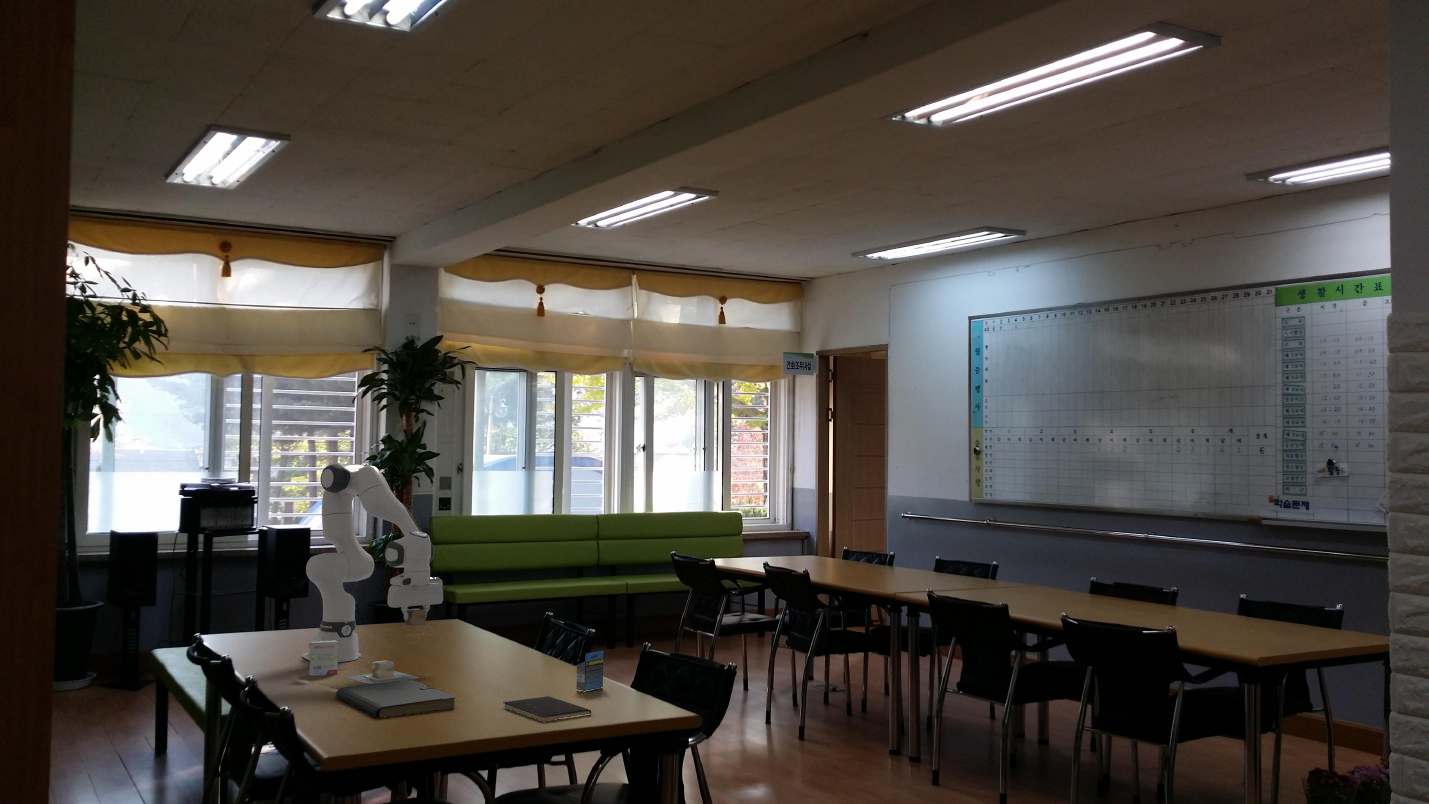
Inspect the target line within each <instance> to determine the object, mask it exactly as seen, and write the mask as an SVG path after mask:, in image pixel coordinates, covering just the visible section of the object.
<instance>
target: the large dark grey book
mask: <svg viewBox="0 0 1429 804" xmlns="http://www.w3.org/2000/svg"><path fill="white" fill-rule="evenodd" d="M335 697H336V698H337V699H338V698H339V700H340V699H341V700H340V701H342V700H343V702H344V701H345V703H347V704H348V703H349V704H348V705H350V704H351V706H352V705H353V707H354V706H355V708H356V707H357V708H356V709H358V708H359V710H360V709H361V711H362V710H363V712H364V711H365V713H366V712H367V714H368V713H369V715H370V714H371V716H373V717H374V716H375V718H376V717H377V718H378V717H379V718H380V717H382V718H385V717H384V716H390V717H393V716H392V715H398V716H401V715H400V714H406V715H410V714H409V713H414V714H421V713H420V712H422V713H428V712H436V711H435V710H437V711H443V710H449V709H451V708H452V709H455V708H456V707H455V706H456V705H455V704H456V696H454V695H451V694H449V693H446V692H444V691H441V690H439V689H436V688H435V687H432V686H430V685H429V686H428V685H427V684H423V683H422V682H419V681H417V680H415V679H411V680H404V681H391V682H384V683H376V684H362V685H353V686H346V687H342V688H341V687H340V688H339V689H338V690H337V691H336V692H335ZM433 710H434V711H433ZM418 712H419V713H418Z"/></svg>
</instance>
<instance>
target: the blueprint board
mask: <svg viewBox="0 0 1429 804" xmlns="http://www.w3.org/2000/svg"><path fill="white" fill-rule="evenodd" d="M344 678H346V679H349V680H353V681H355V682H361V683H364V684H366V685H368V684H376V683H384V682H391V681H404V680H417V679H421V677H419V676H416V675H411V674H408V673H405V672H404V673H403V672H401V671H400V672H399V671H396V670H394V676H393V677H390V678H382V679H377V678H373V677H372V672H371V673H365V674H358V675H351V676H350V675H349V676H344Z"/></svg>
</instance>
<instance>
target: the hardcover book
mask: <svg viewBox="0 0 1429 804" xmlns="http://www.w3.org/2000/svg"><path fill="white" fill-rule="evenodd" d="M503 704H504V709H506V708H507V709H506V710H508V709H511V710H514V711H516V712H515V713H517V712H518V713H517V714H519V713H521V714H520V715H522V714H524V715H523V716H525V715H527V716H526V717H528V716H530V717H532V718H531V719H533V718H536V719H537V720H536V719H535V720H536V721H539V720H540V721H539V722H541V721H543V722H542V723H546V722H545V721H549V722H551V721H550V720H555V719H559V718H564V717H571V716H577V715H585V714H591V715H592V710H591V709H589V708H586V707H584V706H580V705H577V704H574V703H571V702H567V701H565V700H561V699H558V698H556V697H553V696H551V695H550V696H549V695H547V696H541V697H540V696H539V697H532V698H525V699H518V700H509V701H503ZM511 710H510V711H511ZM514 711H513V712H514ZM530 717H529V718H530Z"/></svg>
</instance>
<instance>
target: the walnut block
mask: <svg viewBox="0 0 1429 804" xmlns="http://www.w3.org/2000/svg"><path fill="white" fill-rule="evenodd" d="M407 613H408V614H410V620H404V625H405V626H410V627H415V626H416V627H417V626H425V625H426V619H427V616H426V610H424V609H421V608H411V609H409V608H408V610H407Z"/></svg>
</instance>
